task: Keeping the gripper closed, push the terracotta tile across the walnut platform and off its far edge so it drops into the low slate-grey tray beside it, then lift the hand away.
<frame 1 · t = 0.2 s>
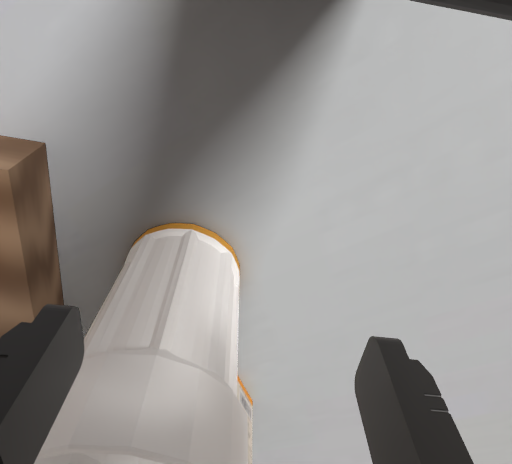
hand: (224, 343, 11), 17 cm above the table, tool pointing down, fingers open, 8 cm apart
supplement box: (210, 393, 40), on the table
cup: (184, 268, 32), on the table
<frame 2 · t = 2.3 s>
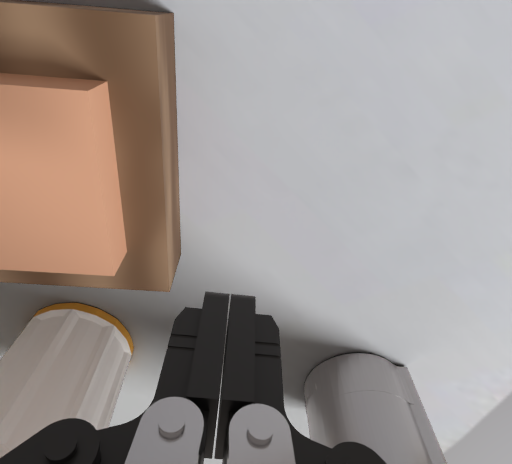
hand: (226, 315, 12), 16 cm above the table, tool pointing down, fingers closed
walnut platform: (54, 144, 25), on the table
terracotta tile: (54, 172, 21), point 4 cm above the table, touching walnut platform
cup: (82, 339, 34), on the table
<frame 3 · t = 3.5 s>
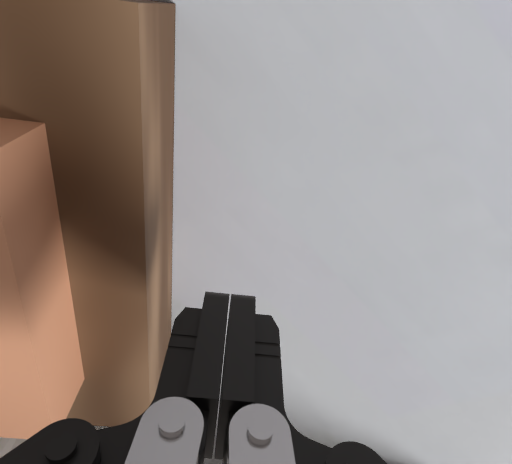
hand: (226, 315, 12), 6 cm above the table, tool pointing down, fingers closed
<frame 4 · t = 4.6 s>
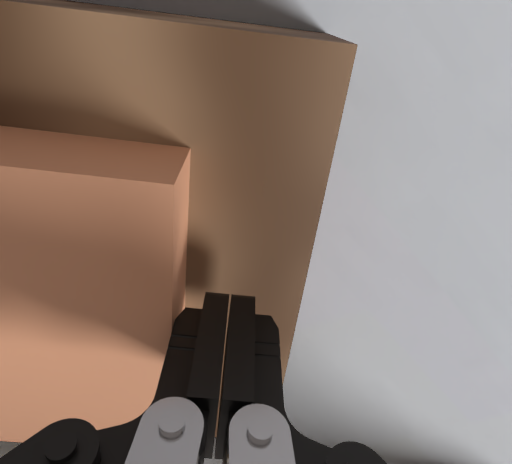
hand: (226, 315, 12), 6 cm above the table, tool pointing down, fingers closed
walnut platform: (106, 218, 17), on the table
terracotta tile: (78, 282, 13), point 5 cm above the table, touching gripper
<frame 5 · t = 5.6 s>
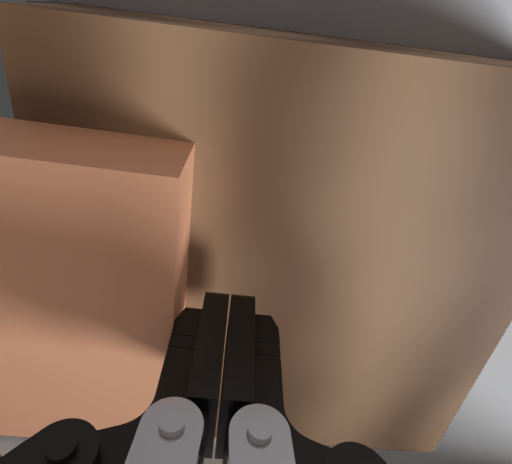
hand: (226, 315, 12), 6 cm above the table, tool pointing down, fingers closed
walnut platform: (279, 235, 17), on the table
terracotta tile: (79, 276, 13), point 5 cm above the table, touching gripper, walnut platform
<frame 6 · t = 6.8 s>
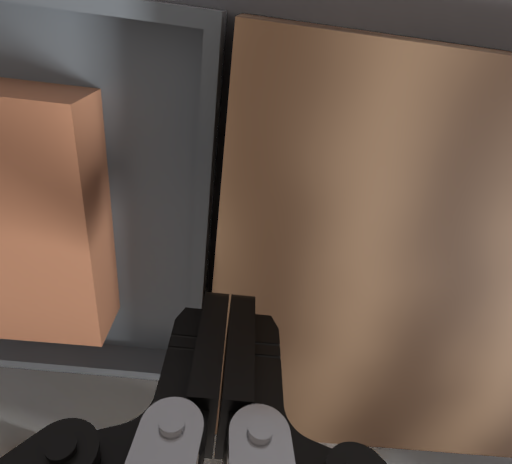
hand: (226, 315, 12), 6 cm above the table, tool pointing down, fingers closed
walnut platform: (402, 243, 17), on the table
slate tray: (63, 206, 16), on the table
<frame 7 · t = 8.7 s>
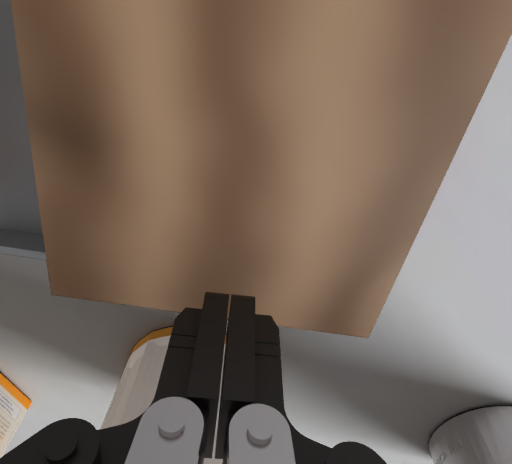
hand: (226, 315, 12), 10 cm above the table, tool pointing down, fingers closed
walnut platform: (243, 134, 19), on the table
cup: (192, 366, 29), on the table
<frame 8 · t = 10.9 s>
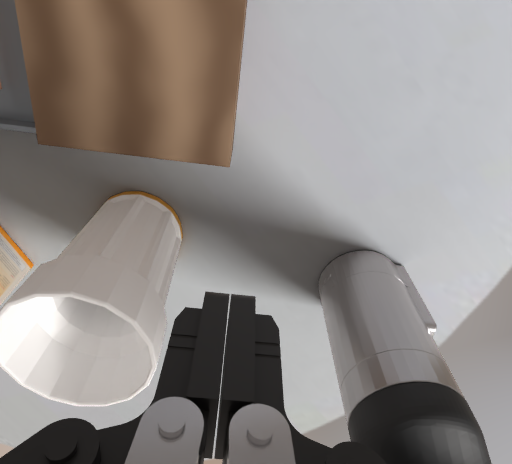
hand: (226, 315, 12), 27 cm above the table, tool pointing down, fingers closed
walnut platform: (146, 47, 32), on the table
cup: (140, 228, 42), on the table
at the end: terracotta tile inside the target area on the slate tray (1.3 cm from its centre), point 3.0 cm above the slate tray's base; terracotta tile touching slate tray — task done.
